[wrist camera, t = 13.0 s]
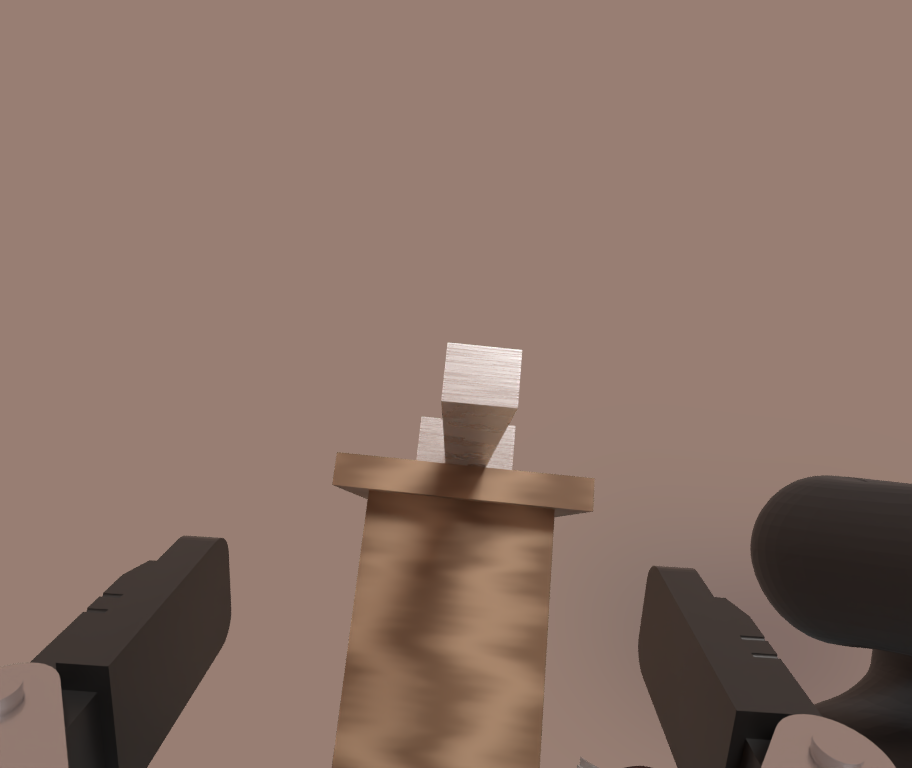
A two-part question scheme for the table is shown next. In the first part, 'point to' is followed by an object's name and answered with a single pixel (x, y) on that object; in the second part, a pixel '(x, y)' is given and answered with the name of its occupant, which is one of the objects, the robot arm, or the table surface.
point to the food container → (588, 767)
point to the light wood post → (474, 409)
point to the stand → (449, 613)
